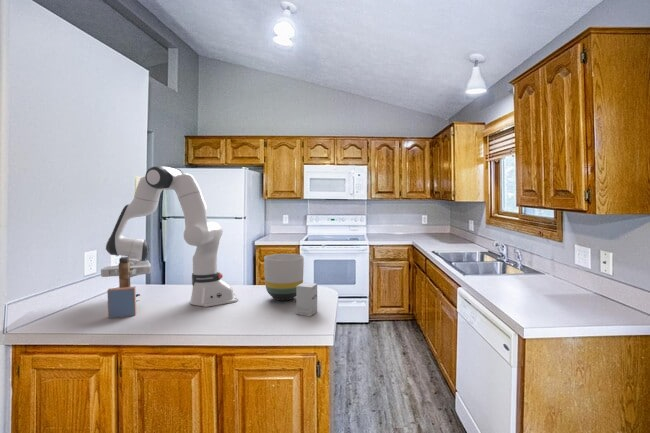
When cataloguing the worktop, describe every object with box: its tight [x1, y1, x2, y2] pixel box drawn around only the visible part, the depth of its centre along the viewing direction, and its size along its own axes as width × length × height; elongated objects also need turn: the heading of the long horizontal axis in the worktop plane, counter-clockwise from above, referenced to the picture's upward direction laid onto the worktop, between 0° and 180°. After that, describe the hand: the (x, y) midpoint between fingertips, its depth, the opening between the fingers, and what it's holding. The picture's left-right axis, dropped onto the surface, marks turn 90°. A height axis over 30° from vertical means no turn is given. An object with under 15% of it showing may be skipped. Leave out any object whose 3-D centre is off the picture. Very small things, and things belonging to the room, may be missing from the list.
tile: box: [106, 286, 137, 320], centre depth 147 cm, size 10×3×12 cm, turn 111°
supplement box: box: [295, 282, 318, 317], centre depth 151 cm, size 7×7×13 cm
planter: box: [263, 253, 305, 302], centre depth 172 cm, size 20×20×21 cm
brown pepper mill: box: [118, 256, 131, 288], centre depth 154 cm, size 4×5×15 cm
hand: (124, 273), depth 153 cm, fingers closed on brown pepper mill, 3 cm apart
